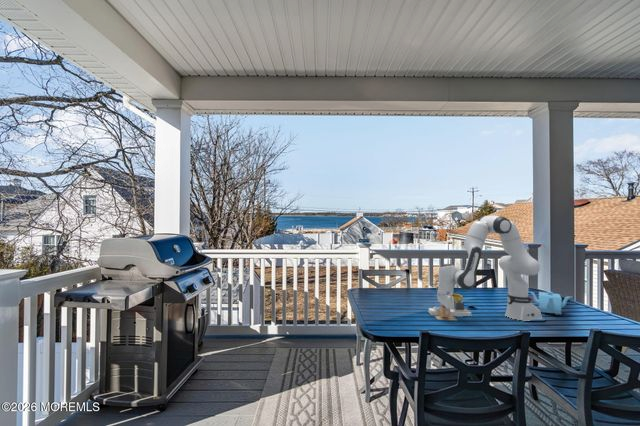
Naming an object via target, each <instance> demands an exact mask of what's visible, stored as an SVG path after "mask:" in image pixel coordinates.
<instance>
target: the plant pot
mask: <svg viewBox="0 0 640 426" xmlns="http://www.w3.org/2000/svg"><path fill="white" fill-rule="evenodd" d="M452 296H453V298H454V302H458V299H461V302H463V298H464V297H463V295H461V294H459V293H453V294H452Z"/></svg>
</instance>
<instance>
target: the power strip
mask: <svg viewBox="0 0 640 426" xmlns="http://www.w3.org/2000/svg"><path fill="white" fill-rule="evenodd" d="M427 311H428V313H429V314H430V315H431V316H441V315H440V306H433V308H432V307H431V308H430V307H429V308H428V310H427ZM450 316H454V317H463V316H471V317H472V312H471V311H470V310H469V309H465V308H464V310H455V309H450Z"/></svg>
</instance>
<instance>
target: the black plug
mask: <svg viewBox="0 0 640 426" xmlns="http://www.w3.org/2000/svg"><path fill="white" fill-rule="evenodd" d="M454 309H455V310H464V309H465V302H463V301H462V302H461V299H458V302H454Z"/></svg>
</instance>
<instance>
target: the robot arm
mask: <svg viewBox="0 0 640 426" xmlns="http://www.w3.org/2000/svg"><path fill="white" fill-rule="evenodd" d="M489 234H498V235H499V239H500V242H501V245H502V248H503V251H504V252H505V253H506V254H508V255H502V256H501V257H500V259H499V261H498V266H499V267H500V269H501V270H502V271H503V273H504V275H505V276H506V279H507V280H506V281H507V288H508V289H507V295H506V297H507V298H506V300H507V301H506V303H507V304H506V305H507V306H506V310H505V313H504V317H506V316H507V317H506V318H508V317H509V318H508V319H511V318H512V319H511V320H514V319H517V320H516V321H519V320H523V321H530V320H532V319H542V317H543V316H542V315H543V314H541V311H540V310H539V307H537V306H536V305H534V304H533V303H532V302H535V300H534V298H533V297H530V296H529V284H528V282H527V281H526V280H524V278H523V276H537V275H538V274H539V273H540V271H541V264H540V262H539V261H538V260H537V259H535V258H534V257H532V256H531V254H530V253H529V252H528V250H527V249H526V248H525V247H524V243H523V240H522V238H521V234H520V232H519V229H518V227H517V225H516V223H515V222H514V221H512V220H509V218H507V217H505V216H501V215H495V214H493V215H488V214H485V215H482V216H479V218H478V219H477V220H476V221H473V222H472V224H471V226H469V229H468V230H467V233H466V235H465V239H464V243H463V246H464V249H465V250H466V252H467V254H468V256H467V262H466V265H465V267H464V270H463V269H461V268H458V267H456V266H455V265H454V264H452V263H443V264H441V265H440V266H439V269H438V284H437V285H438V286H436V291H437V293H436V298H437V299H436V300H437V302H438V303H440V305H441V306H445V308H446V309H445V314H449V309H454V298H453V296H452V294H454V287H455V285H457V286H459V287H460V288H461V289H463V290H466V291H467V290H472V289H473V288H474V287H475V286H476V283H477V272H478V268H479V264H480V261H481V258H482V252H483V248H484V245H485V242H486V240H487V236H488V235H489ZM522 275H523V276H522ZM523 321H522V322H523Z"/></svg>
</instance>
